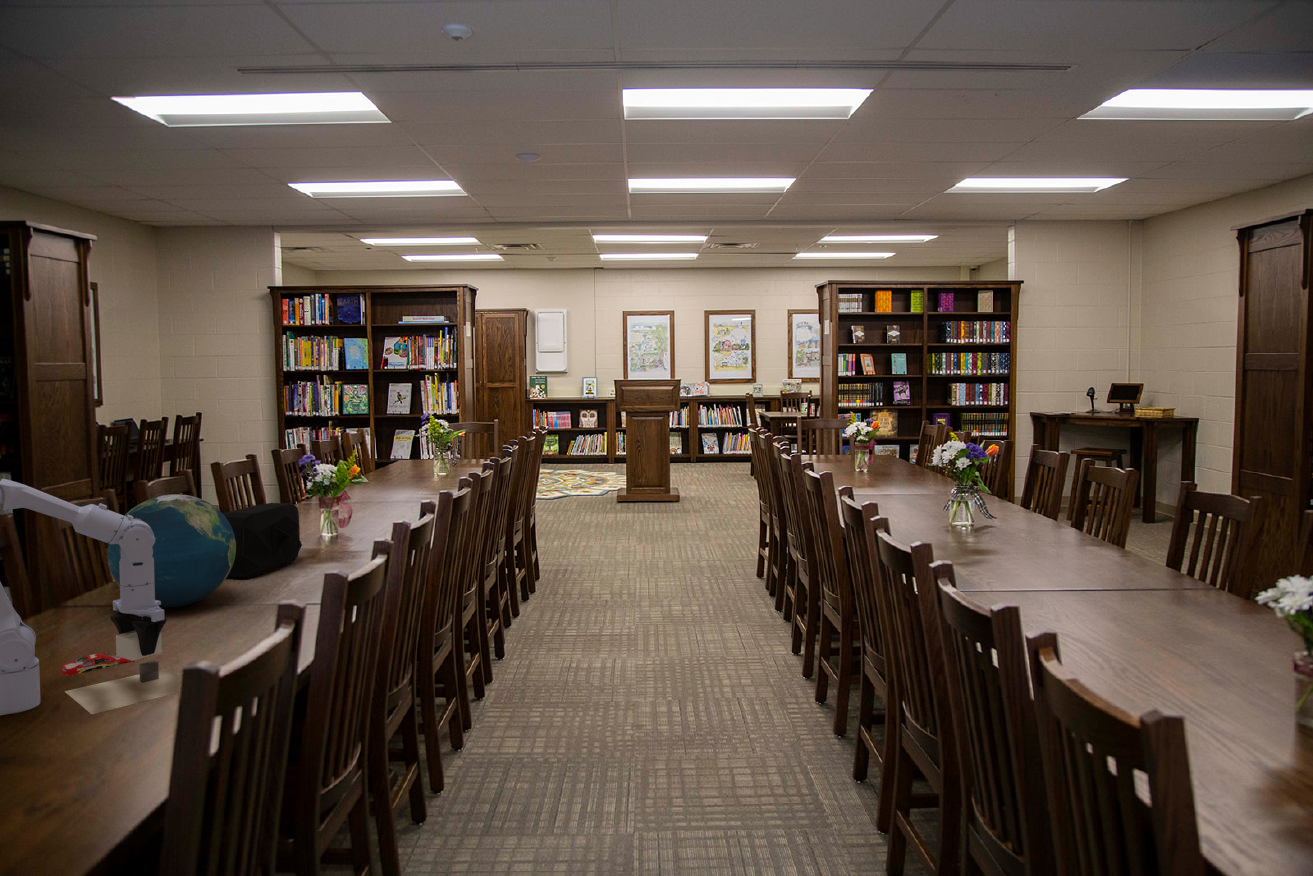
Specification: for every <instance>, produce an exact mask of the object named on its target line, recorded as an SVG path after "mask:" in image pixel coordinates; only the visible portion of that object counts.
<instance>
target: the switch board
mask: <svg viewBox="0 0 1313 876" xmlns="http://www.w3.org/2000/svg"><path fill="white" fill-rule="evenodd" d="M159 668H160V667H159V661H158V660H153V661H147V662H142V663H139V674H135V675H130V676H126V677H122V678H116V679H112V680H108V681H103V682H99V683H96V684H90V685H86V686H81V687H78V688H73V689H69V690H64V693H66V694H67V695H68V696H69V697H70V698H71V699H72V700H74V701H75V702H76V703H77V704H79V705H80V706H81V707H82V708H83V709H85V710H86V711H87V712H89V714H91V715H95V714H99V713H104V712H108V711H111V710H115V709H119V708H123V707H126V706H127V707H128V706H131V705H135V704H140V703H143V702H148V701H151V700H154V699H160V698H164V697H167V696H171V695H176V694H179V687H180V678H181V677H182V676H181V675H179V674H177V673H176V672H175V671H172V670H171V669H170V668H169V667H166V668H161V669H159Z"/></svg>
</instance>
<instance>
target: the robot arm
mask: <svg viewBox="0 0 1313 876" xmlns="http://www.w3.org/2000/svg"><path fill="white" fill-rule="evenodd" d="M0 505H3V508H2V511H8V510H14V509H15V510H16V509H23V508H24V509H28V510H31V511H34V512H37V513H40V514H44V515H46V516H49V517H52V518H56V519H59V520H62V521H65V522H69V523H71V524H72V527H73V529H74V531H75V533H78V534H81V535H84V536H87V537H89V538H92V539H95V540H97V541H101V542H103V543H107V544H108V545H109V544H119V545H120V547H121V560H120V562H119V566H120V587H119V591H120V592H119V593H120V595H119V596H120V598H119V599H115V600H112V611H116V612H117V613H116V614H112V615H110V620H111V622H112V623H113V624H114V626H115V628H116V630H117V632H118V635H119V634H123V633H126V632H130V631H134V630H136V632H137V635H138V639H139V645H140V651H141V654H142V656H146V655H150V654H153V653H154V652H155V649H156V645H157V641H158V637H159V634H160V632H161V633H162V629H163V628H164V626H165V625H166V623H167V620H168V619H167V617H166V616H165V609H163V608H162V607H159V606H158V605H161V601H158V600H155V585H154V558H153V557H152V555H153V549H152V547H153V545H154V543H155V537H154V533H153V531H152V529H151V528H150V526H149V525H148V524H147V523H145V522H143V521H142V520H141V519H133V516H131V515H127V517H126V516H125V515H123V514H120V513H117V512H115V511H112V510H110V509H107V508H108V505H106V504H103V503H101V502H100V503H99V504H98V505H96V504H93V503H90V504H87V505H84V506H83V505H82V506H78V505H76V504H73V503H70V502H69V501H66V500H63V499H62V498H59V497H56V496H55V495H54V496H53V495H51V494H49V493H46V492H43V491H41V490H39V489H36V488H34V487H31V486H28V485H26V484H22V483H20V482H17V481H13V480H10V479H6V478H1V479H0ZM36 642H37V635H36V632H35V631H34V629H33V628H32V627H31V626H28V625H27V624H26V623H24V622H23V621H22V618H21V616H20V615H19V614H18V613H17V611H16V610H15V608H14V607H13V604H12V602H11V599H9V596H8V594H7V593H6V590H5V588H4V586H3V584H2V583H1V581H0V716H4V715H9V714H10V715H11V714H17V713H22V712H25V711H26V712H27V711H28V710H31V709H35V708H36V707H38V706H39V705H40V704H41V678H40V677H41V676H40V659H39V658H38V657H36V656H35V654H36V648H35V645H36Z"/></svg>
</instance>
